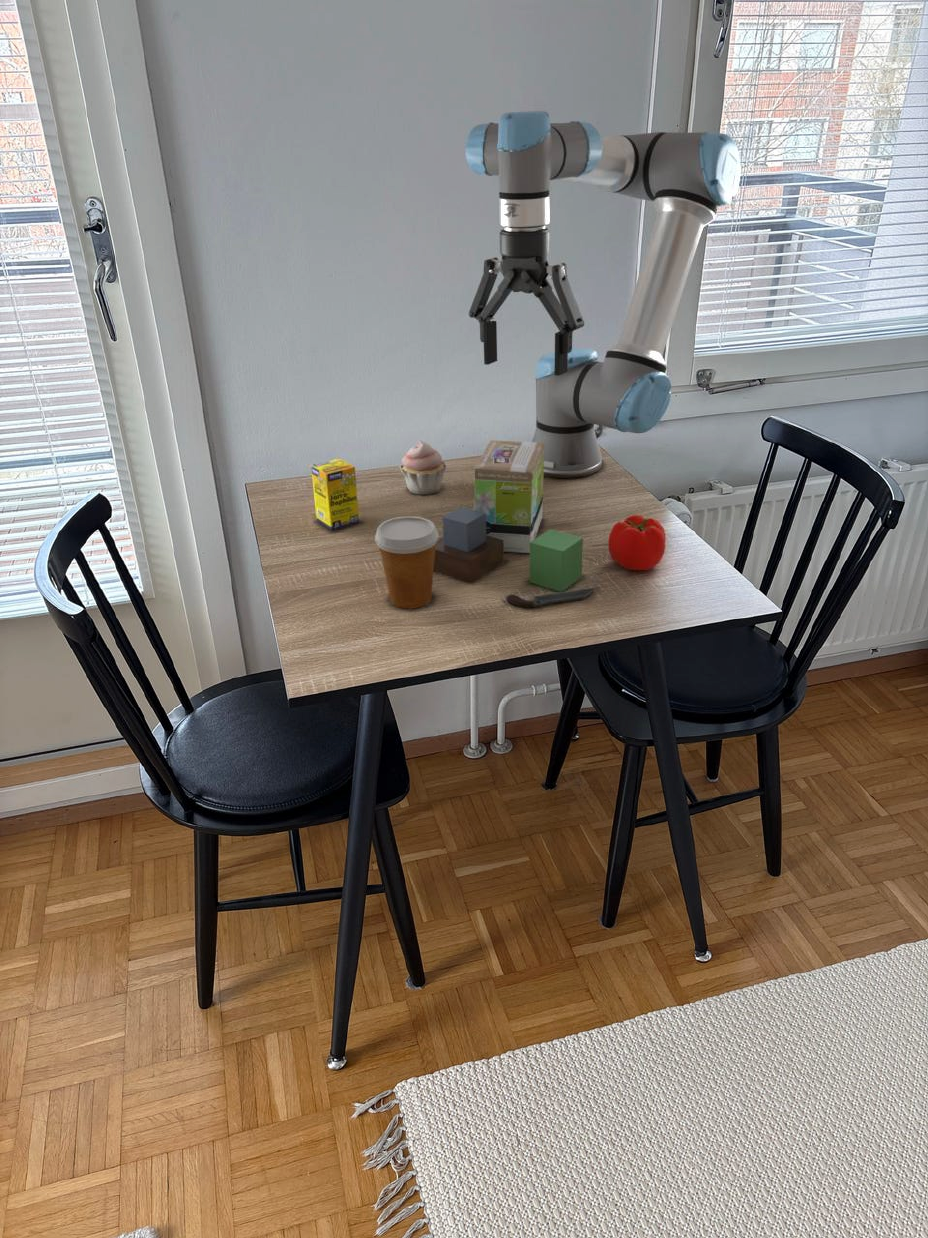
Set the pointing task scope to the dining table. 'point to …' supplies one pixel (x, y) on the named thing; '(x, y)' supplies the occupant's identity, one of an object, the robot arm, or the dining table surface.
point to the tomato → (637, 543)
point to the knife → (550, 598)
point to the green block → (556, 560)
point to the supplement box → (335, 494)
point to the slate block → (464, 529)
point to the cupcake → (423, 469)
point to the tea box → (511, 492)
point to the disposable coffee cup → (408, 559)
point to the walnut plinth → (468, 559)
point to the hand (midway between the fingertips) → (525, 368)
